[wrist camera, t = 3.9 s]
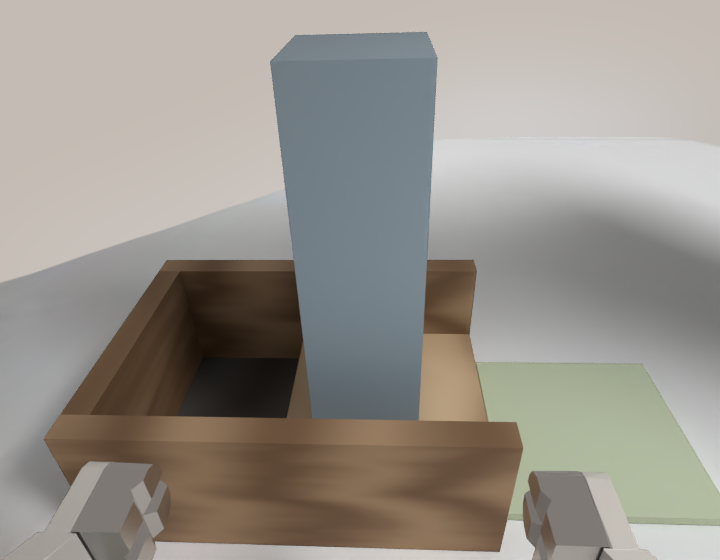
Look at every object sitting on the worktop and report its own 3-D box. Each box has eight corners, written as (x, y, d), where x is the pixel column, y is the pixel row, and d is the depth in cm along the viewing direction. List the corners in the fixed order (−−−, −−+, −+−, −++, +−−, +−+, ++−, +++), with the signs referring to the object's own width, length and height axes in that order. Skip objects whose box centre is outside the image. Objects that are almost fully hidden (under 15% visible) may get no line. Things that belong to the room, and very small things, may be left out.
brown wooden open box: (463, 351, 33) (473, 260, 29) (499, 551, 22) (523, 448, 18) (191, 349, 34) (166, 260, 30) (101, 539, 23) (43, 439, 19)
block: (413, 364, 29) (426, 31, 19) (417, 437, 24) (437, 57, 15) (325, 363, 29) (295, 35, 19) (314, 435, 25) (270, 61, 15)
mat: (640, 370, 31) (642, 364, 31) (730, 525, 23) (735, 519, 23) (475, 368, 32) (476, 362, 32) (506, 519, 24) (507, 513, 23)
